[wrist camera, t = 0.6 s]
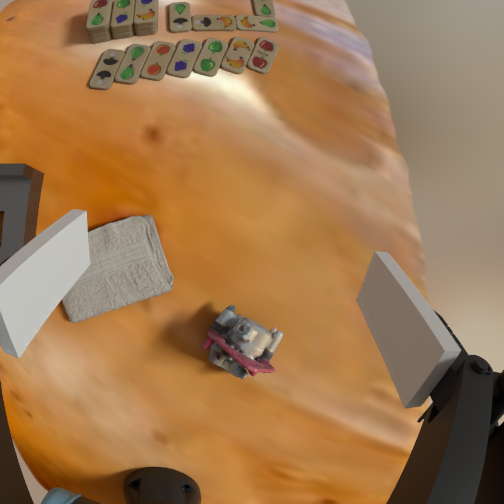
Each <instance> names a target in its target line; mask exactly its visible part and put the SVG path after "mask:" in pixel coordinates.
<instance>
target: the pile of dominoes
mask: <svg viewBox="0 0 504 504" xmlns="http://www.w3.org/2000/svg"><path fill="white" fill-rule="evenodd" d="M252 1H253V6H254V12H255V15H256V16H252V15H237V16H236V17H234V16H231V15H195V16H193V17H192V18H191V12H190V4H189V3H187V2H179V3H172V4H170V5H169V31H170V32H171V33H180V32H189V31H191V30H194V31H234V30H236V28H237V29H238V30H241V31H260V32H273V33H275V32H277V31H278V25H277V20H276V19H275V18H274V17H275V15H276V14H275V10H274V5H273V1H272V0H252ZM86 29H87V31H88V34H89V37H90V39H91V42H92V43H93V44H96V43H101V42H106V41H109V40H111V39H112V38H113V39H123V38H129V37H132V36H133V35H136V36H146V35H153V34H156V33H157V31H158V0H114V2H113V0H92V1H91V3H90V8H89V12H88V17H87V23H86ZM278 48H279V45H278V44H277V43H276V42H274V41H272V40H269V39H267V38H263V37H262V38H259V39H258V41H257V43H256V45H255V46H254V43H253V42H252V41H250V40H247V39H244V38H241V37H235V38H233V40H232V42H231V44H230V46H229V47H228V44H227V43H226V42H224V41H221V40H218V39H214V38H209V39H207V40H206V42H205V44H204V46H203V47H202V44H201V43H200V42H197V41H192V40H187V39H183V40H181V41H180V43H179V45H178V47H177V48H176V46H175V45H174V44H173V43H169V42H162V41H158V42H155V43H154V45H153V47H152V49H151V48H150V47H149V46H147V45H140V44H132V45H130V46H129V48H128V50H127V52H126V54H125V52H124V51H122V50H115V49H108V50H106V51H105V52H104V53H103V55H102V57H101V59H100V61H99V63H98V65H97V67H96V70H95V72H94V74H93V76H92V78H91V80H90V83H89V85H90V87H91V88H92V89H100V90H108V89H109V88H110V87H111V86H112V84H113V81H114V80H115V81H116V82H117V83H124V84H131V85H132V84H135V83H136V82H137V81H138V79H139V77H140V76H141V77H142V78H144V79H150V80H156V81H160V80H162V79H163V78H164V76H165V73H167V74H169V75H172V76H176V77H180V78H187V77H189V76H190V74H191V72H192V70H194V72H195V73H198V74H202V75H206V76H209V77H213V76H215V75H216V74H217V71H218V69H219V68H220V67H221V68H222V69H224V70H226V71H229V72H232V73H235V74H241V73H243V71H244V69H245V67H246V66H247V67H248V68H249V69H251V70H254V71H256V72H259V73H261V74H267V73H268V72H269V70H270V68H271V65H272V63H273V60H274V58H275V56H276V53H277V51H278Z"/></svg>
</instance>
